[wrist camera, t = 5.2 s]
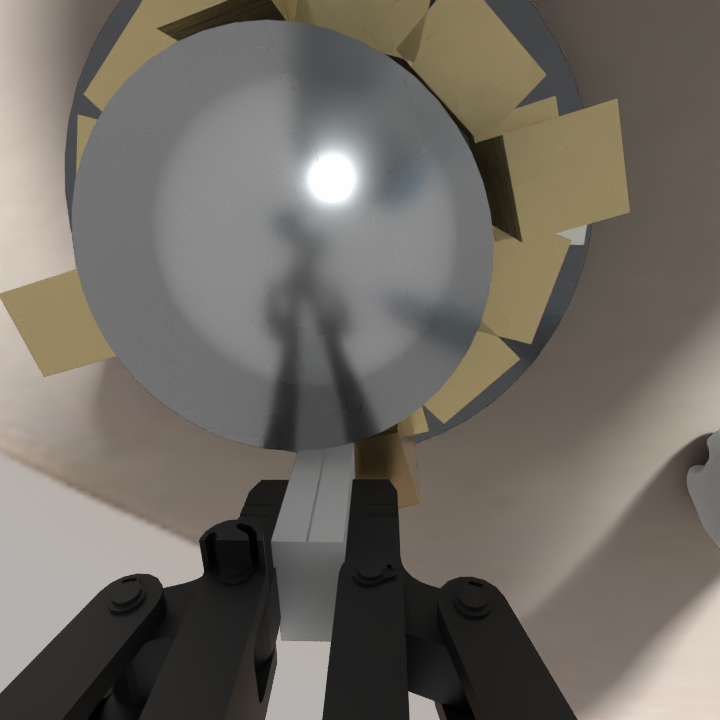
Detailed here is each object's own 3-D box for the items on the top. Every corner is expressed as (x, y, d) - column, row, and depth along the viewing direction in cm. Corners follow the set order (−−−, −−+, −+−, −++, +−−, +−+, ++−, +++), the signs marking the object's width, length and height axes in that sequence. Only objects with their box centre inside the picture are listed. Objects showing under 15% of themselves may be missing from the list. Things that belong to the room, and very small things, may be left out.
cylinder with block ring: (12, 58, 16) (-159, 10, 11) (506, -141, 13) (572, -320, 8) (203, 467, 21) (145, 559, 16) (586, 378, 18) (656, 454, 13)
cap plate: (50, -62, 16) (-311, -304, 8) (615, -77, 15) (884, -373, 7) (137, 425, 23) (-12, 575, 14) (539, 438, 22) (630, 608, 13)
